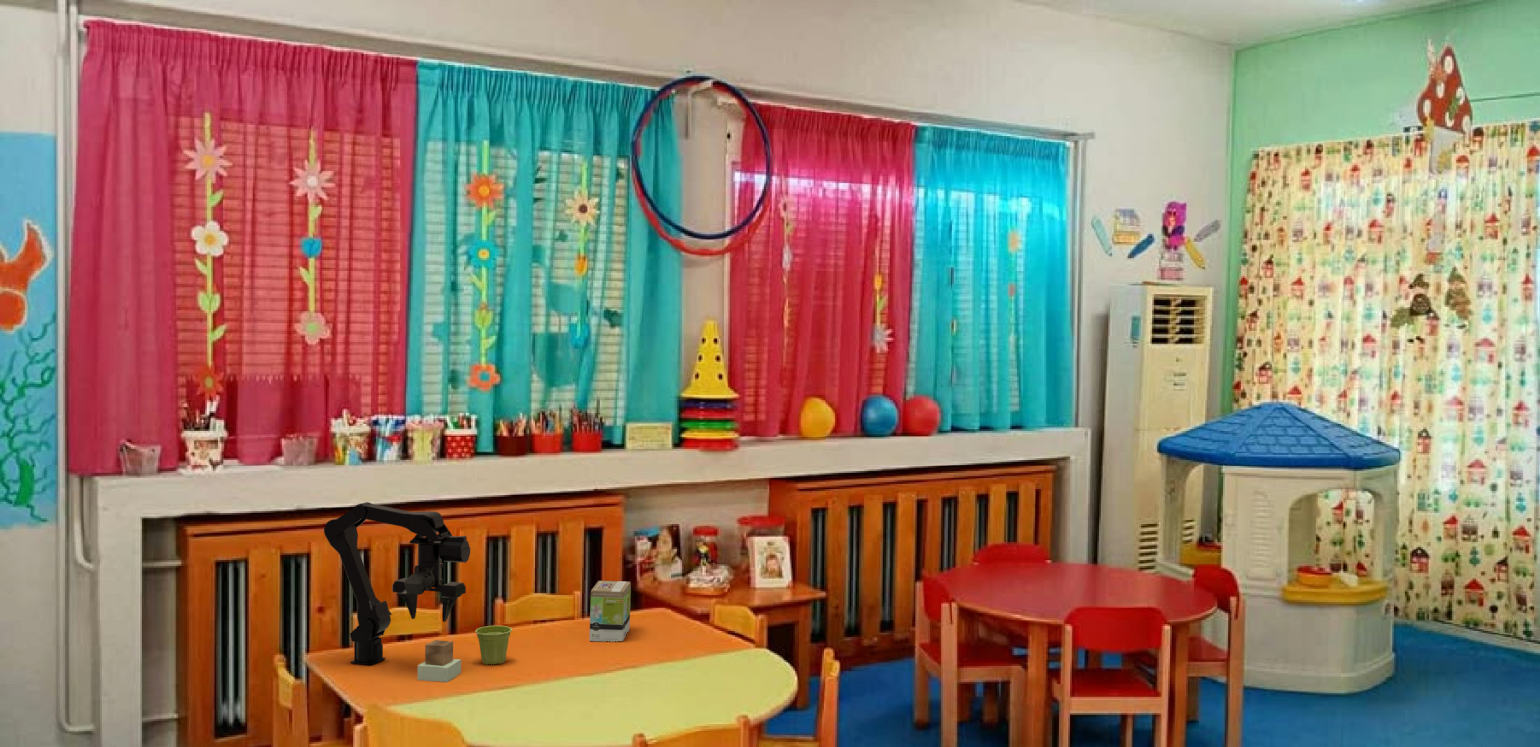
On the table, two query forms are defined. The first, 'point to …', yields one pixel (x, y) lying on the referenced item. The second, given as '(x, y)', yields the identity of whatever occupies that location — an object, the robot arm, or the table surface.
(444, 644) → the walnut cube
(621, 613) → the tea box
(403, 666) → the table surface
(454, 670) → the sage block
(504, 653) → the plant pot
